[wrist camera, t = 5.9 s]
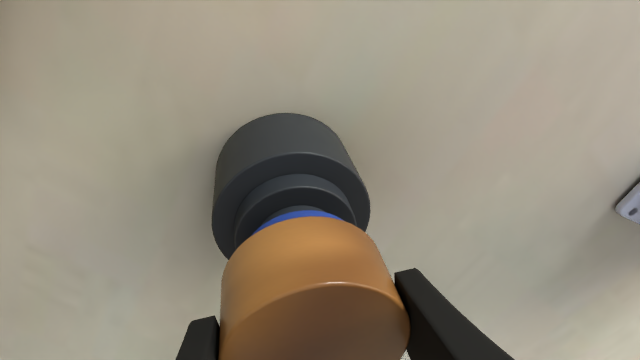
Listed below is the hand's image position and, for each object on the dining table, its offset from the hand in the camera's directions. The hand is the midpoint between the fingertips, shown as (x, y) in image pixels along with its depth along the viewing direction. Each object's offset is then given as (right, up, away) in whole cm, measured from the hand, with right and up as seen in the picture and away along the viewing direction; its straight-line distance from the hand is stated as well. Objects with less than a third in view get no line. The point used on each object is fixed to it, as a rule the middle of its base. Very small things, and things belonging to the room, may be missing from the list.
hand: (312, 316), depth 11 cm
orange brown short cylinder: (0, +1, +1) cm, 1 cm away
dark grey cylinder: (-1, +4, +7) cm, 8 cm away
